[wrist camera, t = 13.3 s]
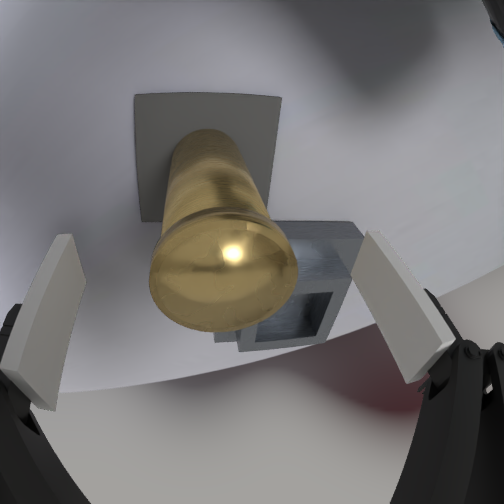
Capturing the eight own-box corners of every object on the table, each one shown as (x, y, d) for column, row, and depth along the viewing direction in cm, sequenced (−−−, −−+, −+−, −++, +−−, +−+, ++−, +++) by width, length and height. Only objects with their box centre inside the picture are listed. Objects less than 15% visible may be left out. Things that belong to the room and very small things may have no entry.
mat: (136, 94, 19) (134, 95, 18) (279, 97, 21) (281, 98, 21) (142, 218, 25) (141, 222, 25) (263, 216, 28) (265, 219, 27)
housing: (214, 221, 27) (220, 263, 22) (352, 222, 30) (380, 257, 25) (212, 322, 35) (217, 364, 31) (320, 314, 38) (336, 350, 33)
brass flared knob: (168, 125, 20) (139, 223, 9) (247, 126, 22) (311, 220, 11) (169, 195, 24) (158, 334, 13) (240, 194, 25) (284, 327, 14)
